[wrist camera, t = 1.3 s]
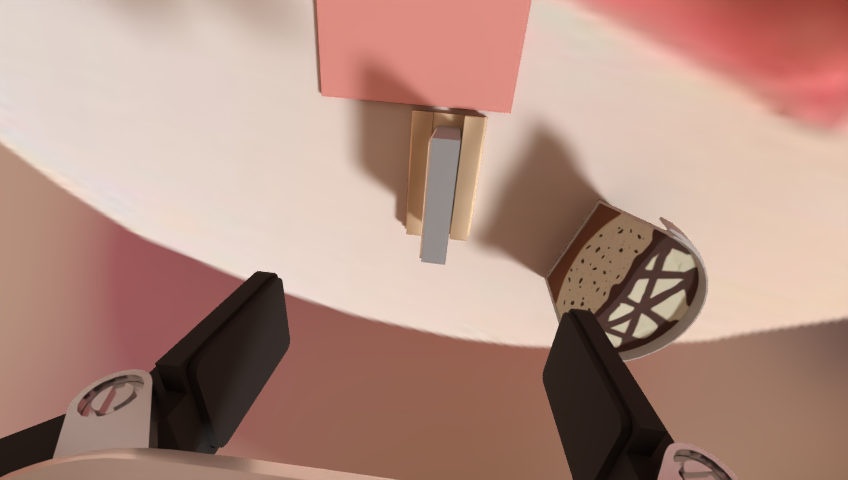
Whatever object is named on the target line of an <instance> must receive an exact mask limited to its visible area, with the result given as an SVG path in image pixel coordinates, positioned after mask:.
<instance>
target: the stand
mask: <svg viewBox="0 0 848 480" xmlns="http://www.w3.org/2000/svg"><path fill="white" fill-rule="evenodd" d="M487 118H488V117H480V116H470V115H459V114H448V113H437V112H426V111H415V110H412V120H411V137H410V154H409V171H408V188H407V205H406V222H405V229H407V231H406V234H410V235H419V236H421V230H422V218H423V206H424V194H425V182H426V170H427V158H428V146H429V140H430V138H431V136H432V134H433V133H434V131H435V129H436V128H438V126H449V127H459V128H460V139H461V141H460V149H459V157H458V165H457V173H456V181H455V189H454V197H453V205H452V213H451V221H450V229H449V234H450V239H454V240H463V241H466V240H467V236H469V234H470V227H471V221H472V214H473V208H474V201H475V195H476V189H477V182H478V176H479V169H480V163H481V157H482V150H483V144H484V137H485V131H486V125H487Z"/></svg>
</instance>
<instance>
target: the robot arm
mask: <svg viewBox="0 0 848 480" xmlns="http://www.w3.org/2000/svg"><path fill="white" fill-rule="evenodd" d="M289 344H290V335H289V328H288V320H287V312H286V305H285V297H284V289H283V282H282V279H281V278H278V276H277V274H275V273H270V272H261V271H257V272H255V273H254V274H253V275H252V276H251V277H250V278H249V279H248V280H246V281H245V282H244V283H243V284H242V285H241V286H240V287H239V288H238V289H236V291H234V292H233V293H232V294H231V295H230V296H229V297H228V298H227V299H225V300H224V302H222V303H221V304H220V305H219V306H218V307H217V308H216V309H215V310H213V311H212V312H211V313H210V314H209V315H208V316H207V317H206V318H205V319H204V320H202V321H201V322H200V323H199V324H198V325H197V326H196V327H195V328H194V329H193V330H191V331H190V332H189V333H188V334H187V335H186V336H185V337H184V338H183V339H181V340H180V341H179V342H178V343H177V344H176V345H175V346H174V347H173V348H172V349H170V350H169V351H168V352H167V353H166V354H165V355H164V356H163V357H162V358H161V359H160V360H158V361H157V362H156V363H155V365H156V367H155V368H154V369H153V370H152V371H151V372H150V373H147V372H146V371H142V370H126V371H122V372H118V373H114V374H112V375H109V376H107V377H104V378H102V379H100V380H98V381H97V382H95V383H93V384H91V385H90V386H88V387H87V388H86V389H84V390H83V391H82V392H80V393H79V394H78V395H77V396H76V398H75V399H74V400H73V401H72V402H71V404H70V406H69V408H68V410H67V413H66V414H64V415H61V416H59V417H56V418H54V419H51V420H48V421H46V422H43V423H41V424H38V425H35V426H33V427H30V428H28V429H25V430H22V431H20V432H17V433H14V434H12V435H9V436H6V437H4V438H1V439H0V480H394V479H388V478H381V477H374V476H366V475H360V474H353V473H346V472H339V471H332V470H325V469H318V468H310V467H303V466H296V465H289V464H282V463H275V462H267V461H260V460H253V459H246V458H238V457H231V456H222V455H214V454H215V453H216V451H217V450H218V448H219V447H221V448H222V447H224V446H225V445H226V444H227V443H228V441H229V440H230V438H231V437H232V435H233V433H234V432H235V430H236V429H237V427H238V426H239V424H240V423H241V421H242V419H243V418H244V416H245V415H246V413H247V411H248V410H249V408H250V407H251V406H252V404H253V402H254V401H255V399H256V398H257V396H258V395H259V393H260V392H261V390H262V388H263V387H264V385H265V384H266V382H267V381H268V379H269V378H270V376H271V374H272V373H273V371H274V370H275V368H276V367H277V365H278V364H279V362H280V361H281V359H282V358H283V356H284V354H285V353H286V351H287V350H288V347H289ZM543 383H544V387H545V390H546V393H547V396H548V400H549V403H550V406H551V409H552V412H553V416H554V419H555V422H556V426H557V429H558V432H559V435H560V438H561V442H562V445H563V448H564V451H565V455H566V458H567V461H568V465H569V468H570V471H571V474H572V478H573V480H739V479H738V478H737V477H736V476H735V474H734V473H733V472H732V471H731V470H730V469H729V468H728V467H727V466H726V465H724V464H723V463H722V462H721V461H720V460H718V459H717V458H716V457H714V456H713V455H711V454H710V453H708V452H707V451H705V450H703V449H701V448H699V447H696V446H694V445H691V444H688V443H677V442H676V443H675V442H674V441H673V439H672V438H671V436H670V435H669V433H668V431H667V430H666V428H665V427H664V425H663V423H662V422H661V420H660V419H659V417H658V416H657V414H656V412H655V411H654V409H653V407H652V406H651V404H650V403H649V401H648V400H647V398H646V396H645V395H644V393H643V392H642V390H641V388H640V387H639V385H638V384H637V382H636V381H635V379H634V377H633V376H632V374H631V373H630V371H629V369H628V368H627V366H626V365H625V363H624V362H623V360H622V359H621V357H620V355H619V354H618V352H617V351H616V349H615V347H614V346H613V344H612V343H611V341H610V340H609V338H608V336H607V335H606V333H605V332H604V330H603V328H602V327H601V325H600V324H599V322H598V320H597V319H596V317H595V316H594V314H593V313H592V312H591V311H590V310H582V309H574V308H572V309H570V310H569V311H568V312H564V313H563V315H562V318H561V321H560V324H559V327H558V330H557V332H556V335H555V338H554V341H553V344H552V347H551V350H550V353H549V356H548V359H547V362H546V365H545V368H544V371H543Z"/></svg>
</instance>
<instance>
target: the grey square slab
mask: <svg viewBox="0 0 848 480" xmlns="http://www.w3.org/2000/svg"><path fill="white" fill-rule="evenodd" d="M460 141H461V139H460V128H459V127H449V126H438V128H436V129H435V131H434V133H433V134H432V136H431V138H430V140H429V146H428V158H427V170H426V182H425V194H424V206H423V218H422V230H421V242H420V254H419V258H422V260H421V262H427V263H435V264H444V265H445V261H446V253H447V245H448V237H449V229H450V221H451V213H452V205H453V197H454V189H455V181H456V173H457V165H458V157H459V149H460Z"/></svg>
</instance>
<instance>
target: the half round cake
mask: <svg viewBox="0 0 848 480" xmlns="http://www.w3.org/2000/svg"><path fill="white" fill-rule="evenodd" d="M659 219H660V220H661V222H662V223H663V224H664V225H665V227H666V228H667V230H663V229H661V228H659V227H657V226H655V225H653V224H650V223H648V222H646V221H644V220H642V219H640V218H638V217H635V216H633V215H631V214H629V213H627V212H625V211H622V210H620V209H618V208H616V207H614V206H612V205H610V204H607V203H605V202H603V201H601V200H599V201H598V202H597V204H596V205H595V207H594V208H593V210H592V211H591V213H590V214H589V215H588V217H587V218H586V220H585V221H584V223H583V224H582V226H581V227H580V228H579V230H578V231H577V233H576V234H575V236H574V237H573V239H572V240H571V241H570V243H569V244H568V246H567V247H566V249H565V250H564V252H563V253H562V254H561V256H560V257H559V259H558V260H557V262H556V263H555V265H554V266H553V267H552V269H551V270H550V272H549V273H548V275H547V276H546V278H545V281H546V284H547V287H548V290H549V293H550V297H551V300H552V303H553V306H554V309H555V313H556V316H557V319H558V322H559V324H560V321H561V318H562V315H563V313H564V312H568V311H569V310H570V309H572V308H574V309H582V310H590V311H591V312H592V313H593V314H594V316H595V317H596V319H597V320H598V322H599V324H600V325H601V327H602V328H603V330H604V332H605V333H606V335H607V336H608V338H609V340H610V341H611V343H612V344H613V346H614V347H615V349H616V351H617V352H618V354H619V355H620V357H621V359H622V360H623V362H624V361H630V360H634V359H638V358H641V357H644V356H647V355H649V354H652V353H654V352H656V351H658V350H660V349H662V348H664V347H666V346H667V345H669V344H670V343H672V342H674V341H675V340H676V339H678V338H679V337H680V336H681V335H682V334H683V333H685V332H686V331H687V330H688V328H689V327H690V326H691V325H692V324H693V323H694V322H695V320H696V319H697V317H698V316H699V314H700V313H701V310H702V308H703V306H704V304H705V301H706V297H707V292H708V277H707V272H706V268H705V266H704V262H703V260H702V258H701V256H700V254H699V252H698V251H697V249H696V248H695V247H694V245H693V244H692V243H691V242H690V240H689V239H688V238H687V237H686V236H685V235H684V233H683V232H682V231H681V230H680V229H679V228H677V227H676V226H675V225H674V224H672V223H671V222H669V221H667V220H666V219H664V218H662V217H660V218H659Z"/></svg>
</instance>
